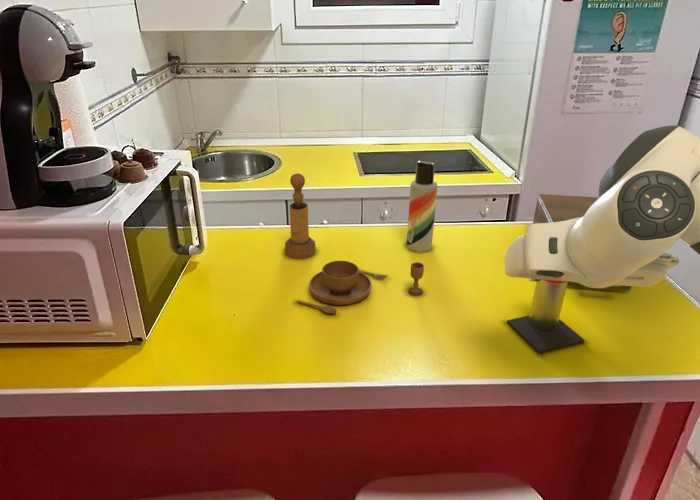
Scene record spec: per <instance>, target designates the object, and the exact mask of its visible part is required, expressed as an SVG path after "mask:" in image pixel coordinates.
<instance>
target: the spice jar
mask: <svg viewBox="0 0 700 500" xmlns="http://www.w3.org/2000/svg"><path fill="white" fill-rule="evenodd" d="M567 283H568V281H557V280H544V279H541V280H540V281H539V282H535V286H534V290H533V295H532V301H531V305H530V310H529V314H528V316H529V319H528V321H529V324H530V325H531V326H532V327H534V328H536V329H538V330H542V331H553V330H555V329H556V328H557V325H558V321H559V319H560V318H561V317H560V316H561V312H562V308H563V304H564V300H565V295H566V291H567V287H568V286H567Z"/></svg>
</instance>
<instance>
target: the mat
mask: <svg viewBox="0 0 700 500" xmlns="http://www.w3.org/2000/svg"><path fill="white" fill-rule="evenodd" d="M528 319H529V315H525V316H521V317H516V318H512V319H507V320H506V324H507V325H508V326H509V327H510V328H511V329H512V330H513V331H514V332H515V333H516V334H517V335H519V337H521V338H522V339H523V340H524V341H525V342H526V343H527V344H528V345H529V346H530V347H531V348H532V349H533V350H534V351H535V352H537V353H538V354H539V355H540V354H545V353H548V352H553V351H556V350H559V349H564V348H568V347H573V346H577V345H580V344H584V343H585V339H584V337H582V336H580V335H579V334H578V332H575V330H573V329H572V328H571V327H569V326H568V325H567V324H566V323H564V322H563V321H562V320H561V319H560V318H559V321H558V325H557V328H556V329H555V330H553V331H542V330H538V329H536V328H534V327H532V326H531V325H530V324H529V321H528Z"/></svg>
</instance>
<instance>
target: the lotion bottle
mask: <svg viewBox="0 0 700 500" xmlns="http://www.w3.org/2000/svg"><path fill="white" fill-rule="evenodd" d="M415 165H416V166H415V177H414V180H412V181H411V182H410V186H409V200H408V201H409V203H408V215H407V231H406V247H407V249H408V250H410V251H413V252H417V253H424V252H425V253H426V252H428V251H430V250H431V249H432V246H433V240H434V239H433V238H434V228H435V215H436V207H437V206H436V205H437V195H438V183H437V182H436V181H435V180H434V179H435V169H436V168H435V166H436V163H435V162H432V161H428V160H423V159H419V160H417V161H416V164H415Z"/></svg>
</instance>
